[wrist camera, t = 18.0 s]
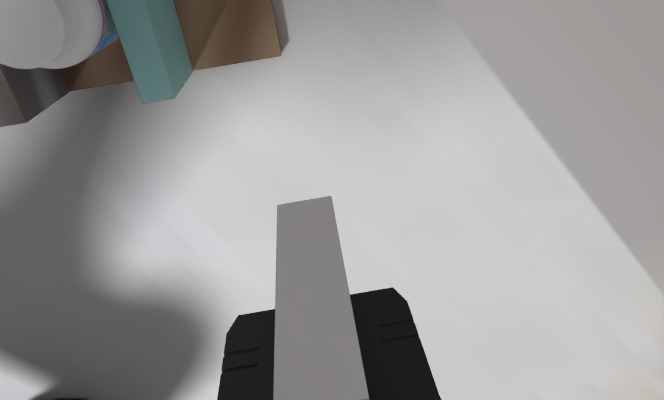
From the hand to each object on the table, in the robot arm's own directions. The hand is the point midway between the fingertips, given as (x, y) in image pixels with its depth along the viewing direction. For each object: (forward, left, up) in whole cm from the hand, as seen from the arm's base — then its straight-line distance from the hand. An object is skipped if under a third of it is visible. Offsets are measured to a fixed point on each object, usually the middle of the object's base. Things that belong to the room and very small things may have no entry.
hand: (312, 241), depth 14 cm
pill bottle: (-13, +6, -26) cm, 29 cm away
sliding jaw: (-9, +6, -25) cm, 27 cm away
